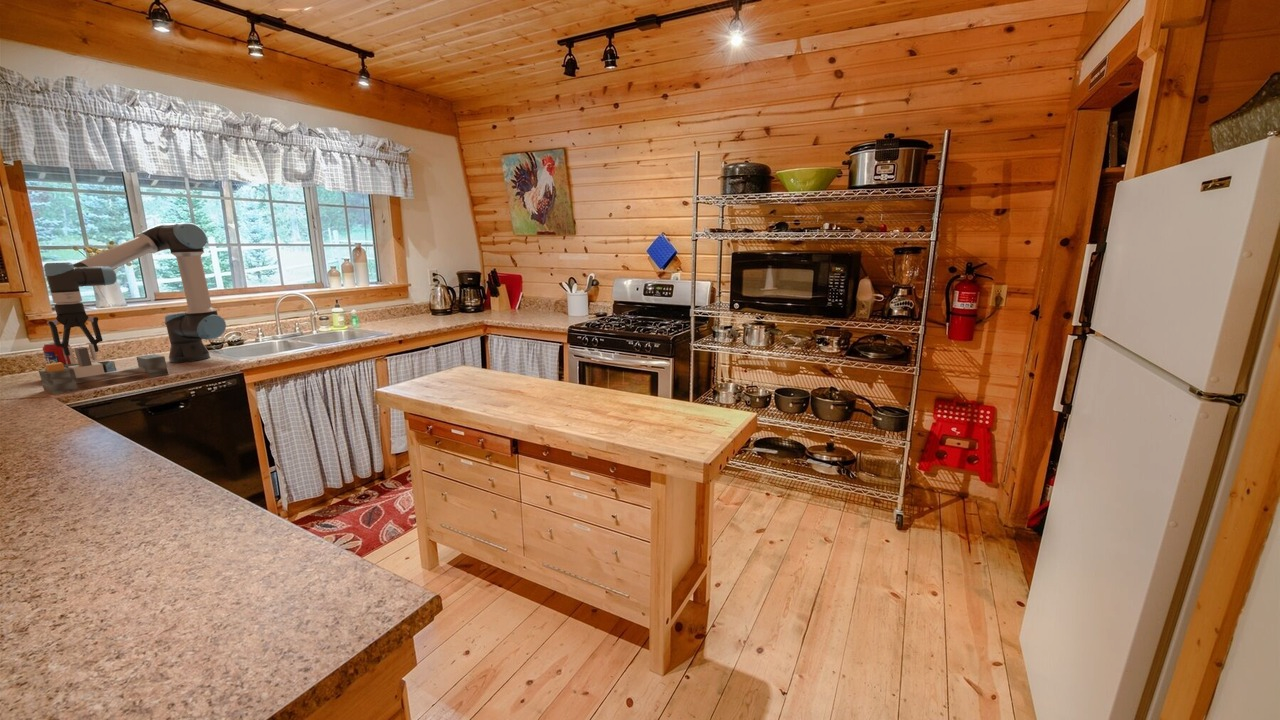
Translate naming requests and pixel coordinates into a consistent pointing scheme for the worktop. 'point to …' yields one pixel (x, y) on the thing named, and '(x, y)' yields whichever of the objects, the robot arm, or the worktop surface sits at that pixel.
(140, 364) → the rail stand
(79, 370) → the carriage
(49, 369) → the plunger
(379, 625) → the worktop surface
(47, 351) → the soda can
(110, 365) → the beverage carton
